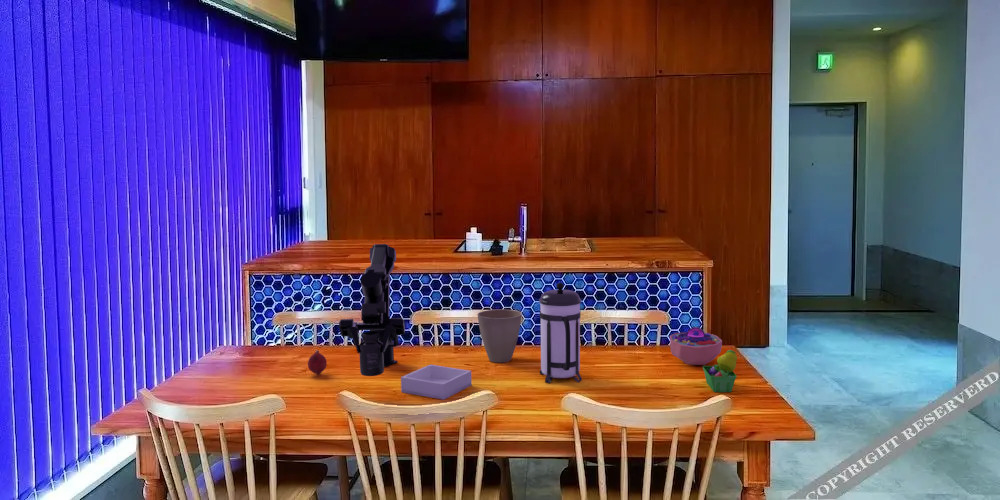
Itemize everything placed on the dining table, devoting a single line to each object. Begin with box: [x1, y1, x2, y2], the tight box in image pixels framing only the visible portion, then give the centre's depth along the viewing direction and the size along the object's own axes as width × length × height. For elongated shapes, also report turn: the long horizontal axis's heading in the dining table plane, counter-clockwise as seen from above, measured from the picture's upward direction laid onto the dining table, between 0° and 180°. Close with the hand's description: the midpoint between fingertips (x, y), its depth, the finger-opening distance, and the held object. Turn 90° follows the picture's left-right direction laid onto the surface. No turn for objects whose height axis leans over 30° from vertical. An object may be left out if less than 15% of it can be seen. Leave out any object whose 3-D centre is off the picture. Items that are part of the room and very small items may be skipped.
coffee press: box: [538, 282, 583, 384], centre depth 234 cm, size 17×16×30 cm
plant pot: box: [477, 309, 523, 363], centre depth 258 cm, size 15×15×16 cm
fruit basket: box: [702, 349, 738, 393], centre depth 225 cm, size 11×9×11 cm
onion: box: [307, 349, 328, 376], centre depth 244 cm, size 6×6×8 cm
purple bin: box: [400, 364, 472, 400], centre depth 228 cm, size 15×15×4 cm
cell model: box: [669, 326, 723, 366], centre depth 251 cm, size 17×20×11 cm
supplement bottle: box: [358, 330, 385, 377], centre depth 221 cm, size 7×7×12 cm
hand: (370, 352), depth 220 cm, fingers closed on supplement bottle, 7 cm apart
